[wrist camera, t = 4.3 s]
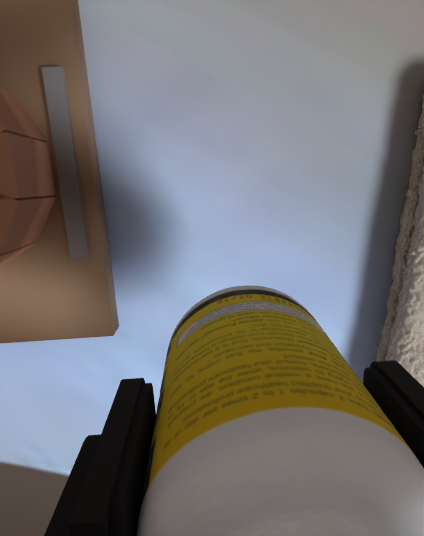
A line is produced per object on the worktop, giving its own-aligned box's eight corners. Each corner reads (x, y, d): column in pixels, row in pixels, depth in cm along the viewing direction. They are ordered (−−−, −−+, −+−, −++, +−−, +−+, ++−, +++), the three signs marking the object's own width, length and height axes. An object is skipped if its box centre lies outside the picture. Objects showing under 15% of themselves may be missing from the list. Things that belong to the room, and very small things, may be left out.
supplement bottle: (141, 317, 12) (-48, 810, 3) (291, 257, 12) (646, 595, 2) (202, 439, 14) (212, 1043, 4) (338, 389, 13) (681, 927, 4)
